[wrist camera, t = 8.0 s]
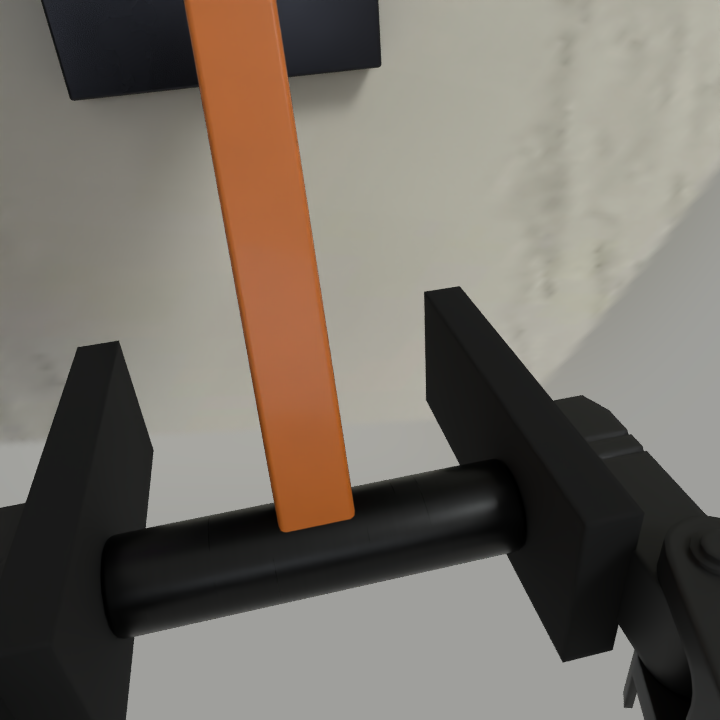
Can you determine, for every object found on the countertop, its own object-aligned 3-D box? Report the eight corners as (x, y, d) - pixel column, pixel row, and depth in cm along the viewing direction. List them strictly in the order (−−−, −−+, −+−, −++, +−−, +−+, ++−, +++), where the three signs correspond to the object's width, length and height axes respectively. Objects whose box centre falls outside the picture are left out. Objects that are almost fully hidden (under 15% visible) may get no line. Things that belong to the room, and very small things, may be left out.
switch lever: (486, 514, 11) (547, 584, 9) (139, 588, 10) (106, 686, 8) (388, -370, 9) (437, -598, 6) (-82, -366, 8) (-222, -623, 6)
